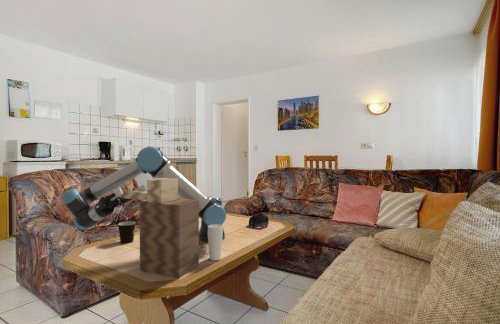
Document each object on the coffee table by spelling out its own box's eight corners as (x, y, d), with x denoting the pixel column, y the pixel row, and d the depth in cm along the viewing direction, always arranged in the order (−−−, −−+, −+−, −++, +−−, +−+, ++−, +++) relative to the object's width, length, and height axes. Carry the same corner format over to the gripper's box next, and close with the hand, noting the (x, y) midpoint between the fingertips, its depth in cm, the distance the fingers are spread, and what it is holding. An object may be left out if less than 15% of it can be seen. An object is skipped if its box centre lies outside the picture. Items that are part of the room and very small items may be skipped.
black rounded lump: (247, 225, 192) (246, 211, 191) (266, 222, 194) (265, 208, 193) (250, 231, 179) (249, 216, 177) (270, 229, 181) (269, 214, 180)
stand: (139, 270, 112) (139, 202, 112) (162, 258, 125) (162, 197, 125) (179, 278, 106) (179, 205, 105) (198, 264, 119) (198, 199, 118)
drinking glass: (208, 256, 129) (208, 224, 129) (222, 256, 130) (222, 224, 129) (207, 261, 122) (207, 228, 122) (222, 261, 123) (222, 227, 123)
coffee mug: (129, 244, 145) (129, 225, 145) (114, 243, 147) (114, 224, 146) (141, 238, 156) (141, 220, 156) (128, 237, 158) (128, 219, 158)
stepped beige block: (113, 199, 119) (113, 178, 118) (132, 195, 129) (132, 176, 129) (161, 203, 110) (161, 180, 110) (177, 199, 120) (177, 178, 120)
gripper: (125, 212, 139) (155, 193, 133) (80, 223, 116) (113, 200, 109) (119, 198, 140) (149, 179, 134) (73, 207, 117) (106, 184, 110)
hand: (133, 188), depth 122 cm, fingers open, 13 cm apart
